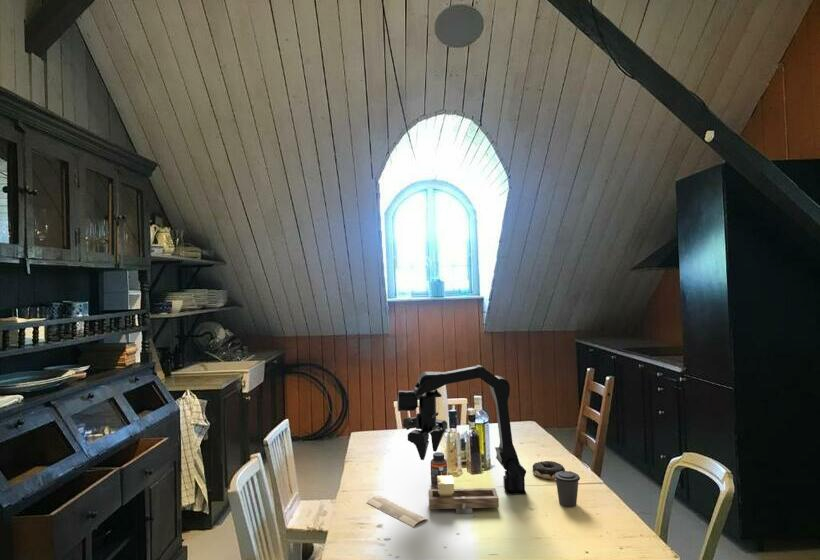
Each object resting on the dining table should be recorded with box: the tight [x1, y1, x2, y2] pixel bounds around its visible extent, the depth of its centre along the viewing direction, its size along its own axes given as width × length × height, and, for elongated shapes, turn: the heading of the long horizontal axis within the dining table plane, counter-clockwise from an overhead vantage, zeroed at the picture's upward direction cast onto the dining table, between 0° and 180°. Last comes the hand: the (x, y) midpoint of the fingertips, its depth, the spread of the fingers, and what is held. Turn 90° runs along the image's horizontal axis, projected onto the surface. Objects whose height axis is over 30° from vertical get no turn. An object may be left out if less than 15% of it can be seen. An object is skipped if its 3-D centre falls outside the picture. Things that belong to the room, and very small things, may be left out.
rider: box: [437, 475, 455, 497], centre depth 164 cm, size 5×7×6 cm
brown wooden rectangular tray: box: [428, 487, 500, 515], centre depth 164 cm, size 22×9×5 cm, turn 89°
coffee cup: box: [554, 470, 581, 509], centre depth 164 cm, size 8×8×10 cm
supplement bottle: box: [430, 451, 448, 489], centre depth 182 cm, size 6×6×11 cm
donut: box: [532, 460, 566, 481], centre depth 189 cm, size 11×12×4 cm
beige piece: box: [366, 495, 429, 528], centre depth 162 cm, size 24×7×2 cm, turn 42°
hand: (428, 455), depth 173 cm, fingers open, 9 cm apart
